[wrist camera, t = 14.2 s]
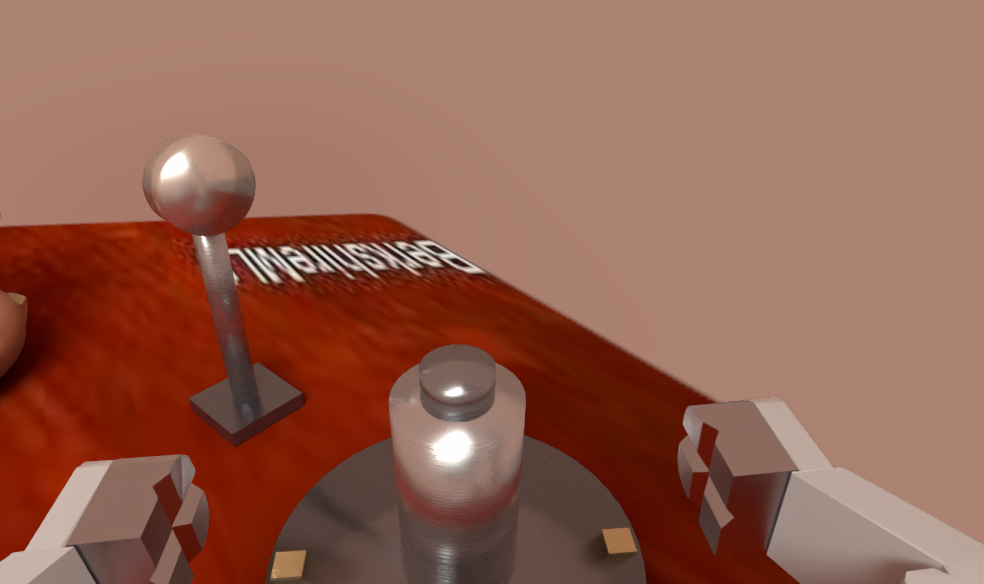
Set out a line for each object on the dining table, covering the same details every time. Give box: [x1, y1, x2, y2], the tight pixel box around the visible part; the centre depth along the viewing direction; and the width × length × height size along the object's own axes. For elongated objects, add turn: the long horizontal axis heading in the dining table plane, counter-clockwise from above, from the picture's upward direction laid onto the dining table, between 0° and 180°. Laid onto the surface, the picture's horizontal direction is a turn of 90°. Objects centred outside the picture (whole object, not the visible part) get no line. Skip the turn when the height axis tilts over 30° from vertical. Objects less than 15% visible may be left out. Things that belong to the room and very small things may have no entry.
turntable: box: [265, 435, 647, 584], centre depth 31 cm, size 18×18×1 cm
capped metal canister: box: [389, 345, 526, 584], centre depth 27 cm, size 6×6×12 cm
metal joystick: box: [142, 133, 304, 446], centre depth 36 cm, size 5×5×18 cm
